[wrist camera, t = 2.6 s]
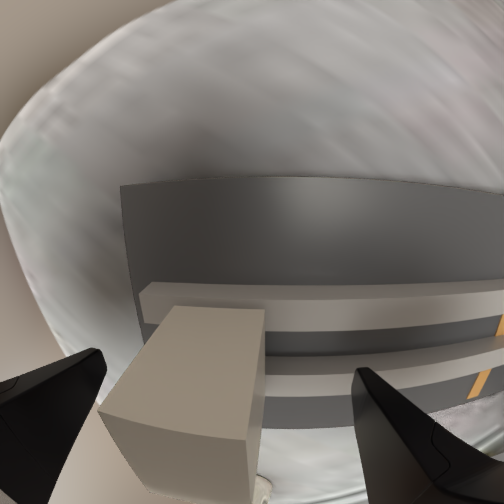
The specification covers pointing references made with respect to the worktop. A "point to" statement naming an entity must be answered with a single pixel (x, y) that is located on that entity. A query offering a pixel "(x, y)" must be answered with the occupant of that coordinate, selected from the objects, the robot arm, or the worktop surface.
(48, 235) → the worktop surface
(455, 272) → the fader console
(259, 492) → the beer glass
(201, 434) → the fader knob
